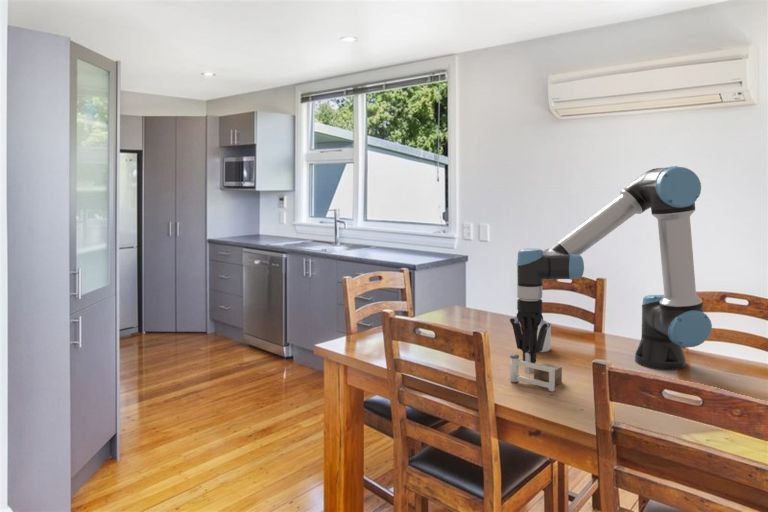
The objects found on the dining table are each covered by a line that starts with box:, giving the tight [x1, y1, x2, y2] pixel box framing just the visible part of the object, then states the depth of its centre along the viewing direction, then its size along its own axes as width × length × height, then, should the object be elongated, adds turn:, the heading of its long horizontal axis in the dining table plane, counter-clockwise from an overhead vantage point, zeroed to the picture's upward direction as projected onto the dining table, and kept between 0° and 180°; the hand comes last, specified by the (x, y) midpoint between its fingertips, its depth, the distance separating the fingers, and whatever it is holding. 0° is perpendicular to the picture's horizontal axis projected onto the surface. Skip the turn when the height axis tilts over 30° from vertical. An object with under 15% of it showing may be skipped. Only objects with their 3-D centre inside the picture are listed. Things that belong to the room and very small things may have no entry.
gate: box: [509, 353, 556, 392], centre depth 163 cm, size 14×3×8 cm, turn 46°
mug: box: [537, 319, 552, 353], centre depth 199 cm, size 12×8×10 cm
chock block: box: [533, 362, 563, 387], centre depth 166 cm, size 6×6×5 cm
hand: (529, 372), depth 170 cm, fingers closed
